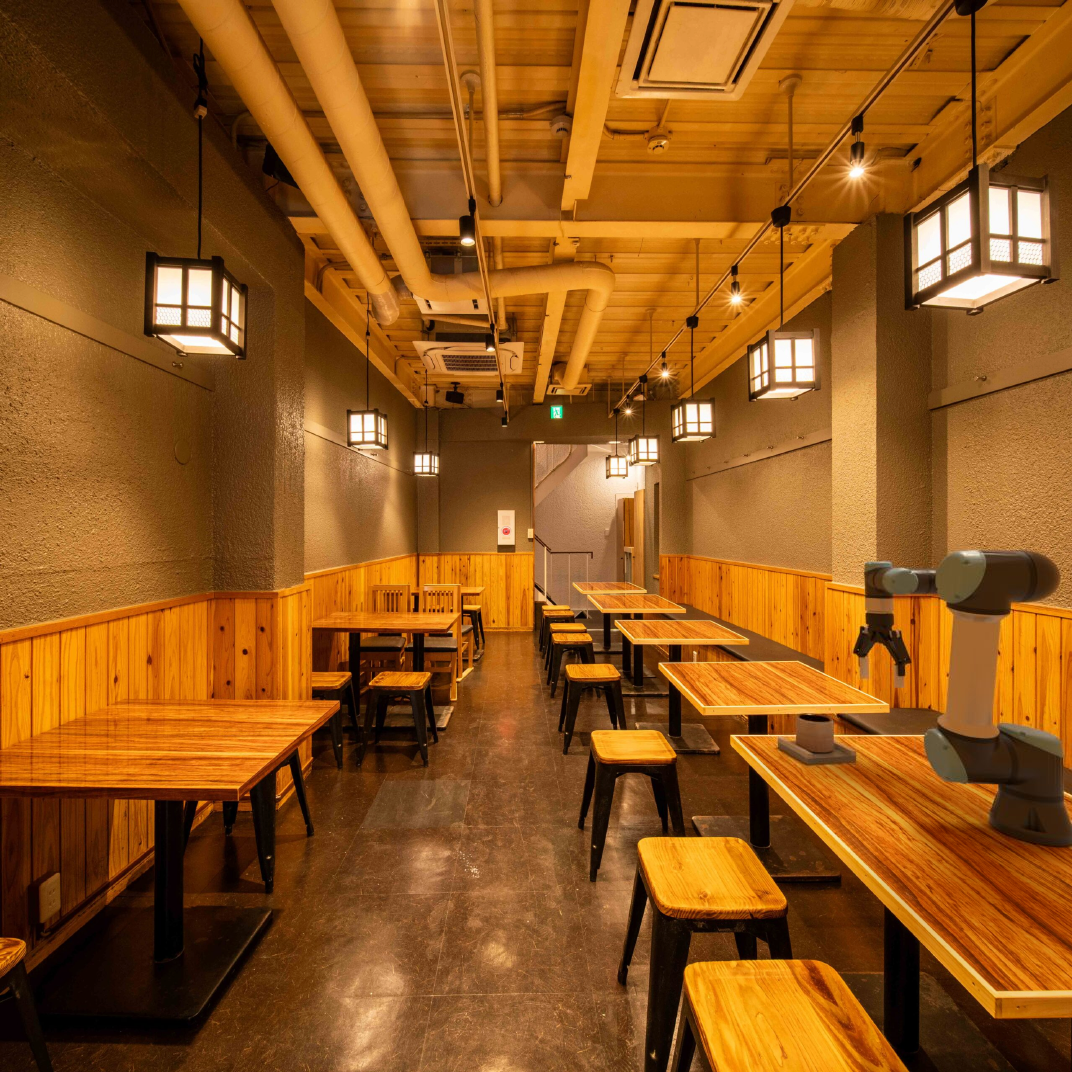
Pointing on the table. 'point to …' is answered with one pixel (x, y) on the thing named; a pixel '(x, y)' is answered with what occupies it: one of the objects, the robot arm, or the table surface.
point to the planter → (815, 732)
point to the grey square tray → (836, 756)
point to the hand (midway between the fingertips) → (881, 682)
